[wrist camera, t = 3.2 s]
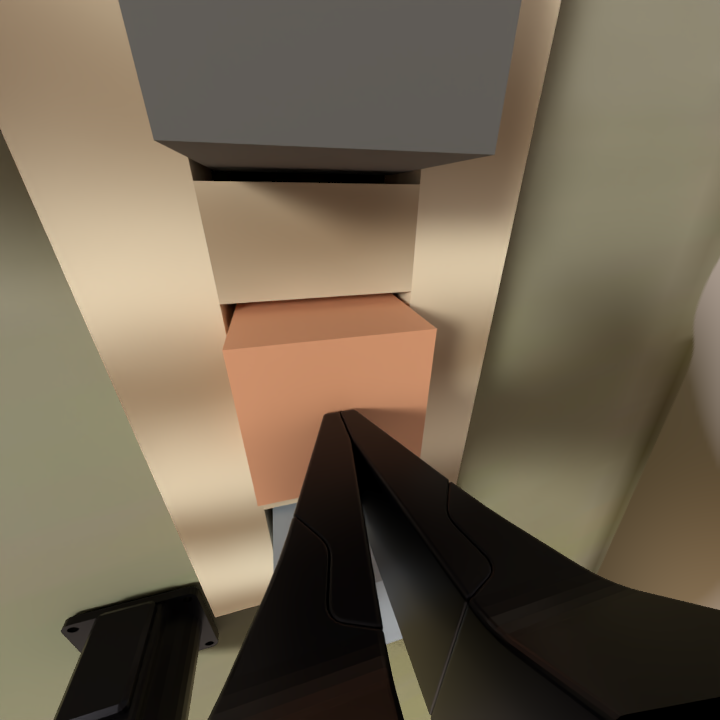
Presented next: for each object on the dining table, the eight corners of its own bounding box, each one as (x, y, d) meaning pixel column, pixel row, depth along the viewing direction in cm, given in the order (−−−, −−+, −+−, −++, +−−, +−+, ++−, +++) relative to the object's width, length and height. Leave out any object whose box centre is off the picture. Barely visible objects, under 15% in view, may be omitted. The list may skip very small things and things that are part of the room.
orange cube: (373, 389, 14) (418, 472, 10) (261, 405, 13) (257, 506, 9) (376, 282, 12) (436, 328, 8) (240, 290, 11) (222, 350, 6)
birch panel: (419, 507, 20) (441, 553, 17) (223, 555, 17) (215, 617, 15) (505, -97, 8) (610, -229, 6) (-54, -241, 6) (-324, -609, 3)
